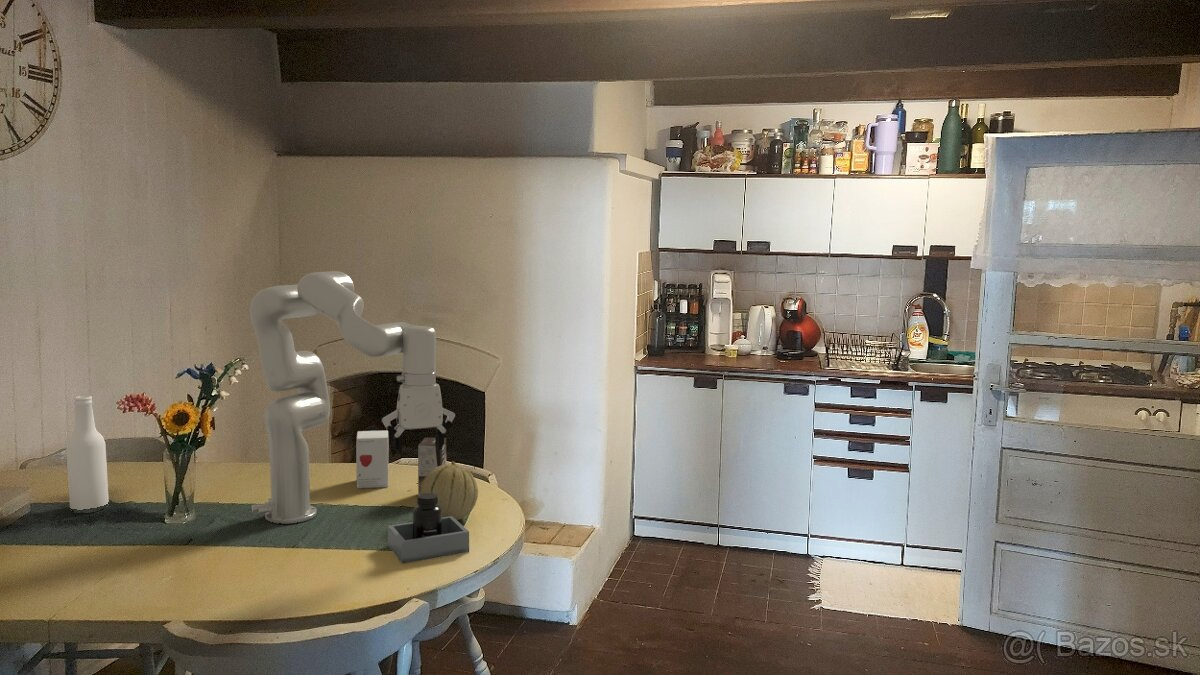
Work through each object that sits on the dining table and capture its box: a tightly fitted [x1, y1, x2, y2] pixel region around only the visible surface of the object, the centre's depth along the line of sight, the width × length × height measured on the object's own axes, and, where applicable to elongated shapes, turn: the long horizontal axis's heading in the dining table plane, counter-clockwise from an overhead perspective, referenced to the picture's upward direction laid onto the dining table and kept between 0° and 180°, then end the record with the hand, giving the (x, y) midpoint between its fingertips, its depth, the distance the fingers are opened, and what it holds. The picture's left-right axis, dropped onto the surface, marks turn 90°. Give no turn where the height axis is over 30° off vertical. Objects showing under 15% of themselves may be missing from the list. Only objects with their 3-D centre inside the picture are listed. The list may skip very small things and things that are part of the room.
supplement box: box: [355, 430, 389, 489], centre depth 254 cm, size 9×9×15 cm
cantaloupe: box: [420, 460, 479, 521], centre depth 224 cm, size 15×15×15 cm
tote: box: [387, 516, 470, 564], centre depth 205 cm, size 16×12×5 cm
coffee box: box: [417, 437, 447, 496], centre depth 243 cm, size 9×6×16 cm
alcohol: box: [65, 394, 110, 510], centre depth 226 cm, size 9×9×30 cm
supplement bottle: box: [412, 493, 442, 539], centre depth 205 cm, size 7×7×12 cm
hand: (418, 450), depth 204 cm, fingers open, 9 cm apart
